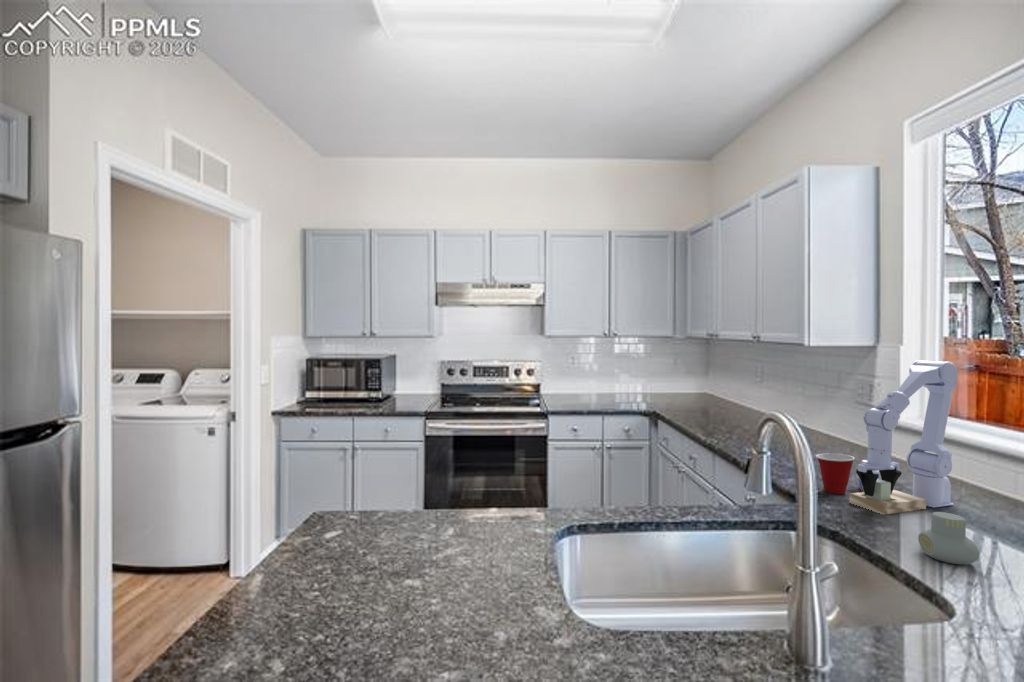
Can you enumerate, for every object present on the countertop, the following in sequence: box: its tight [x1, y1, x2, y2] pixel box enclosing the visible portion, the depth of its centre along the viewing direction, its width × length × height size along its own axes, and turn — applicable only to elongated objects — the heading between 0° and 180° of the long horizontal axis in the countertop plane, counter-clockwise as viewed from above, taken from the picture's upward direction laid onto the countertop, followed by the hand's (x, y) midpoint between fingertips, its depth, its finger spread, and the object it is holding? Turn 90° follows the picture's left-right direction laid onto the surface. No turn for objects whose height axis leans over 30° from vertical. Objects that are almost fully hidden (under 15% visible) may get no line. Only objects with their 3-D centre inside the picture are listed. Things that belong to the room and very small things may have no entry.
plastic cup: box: [815, 452, 856, 495], centre depth 163 cm, size 11×11×12 cm
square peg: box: [867, 478, 891, 502], centre depth 148 cm, size 4×4×8 cm
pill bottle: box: [858, 459, 880, 491], centre depth 165 cm, size 6×5×10 cm
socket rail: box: [848, 489, 927, 515], centre depth 149 cm, size 18×10×3 cm, turn 108°
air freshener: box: [917, 511, 980, 566], centre depth 113 cm, size 11×8×10 cm
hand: (878, 494), depth 148 cm, fingers open, 7 cm apart
